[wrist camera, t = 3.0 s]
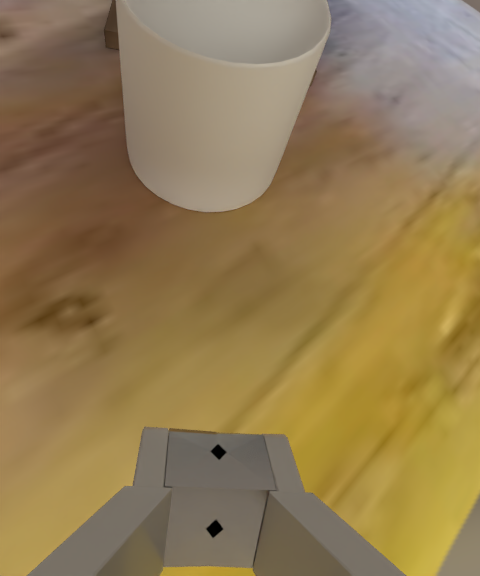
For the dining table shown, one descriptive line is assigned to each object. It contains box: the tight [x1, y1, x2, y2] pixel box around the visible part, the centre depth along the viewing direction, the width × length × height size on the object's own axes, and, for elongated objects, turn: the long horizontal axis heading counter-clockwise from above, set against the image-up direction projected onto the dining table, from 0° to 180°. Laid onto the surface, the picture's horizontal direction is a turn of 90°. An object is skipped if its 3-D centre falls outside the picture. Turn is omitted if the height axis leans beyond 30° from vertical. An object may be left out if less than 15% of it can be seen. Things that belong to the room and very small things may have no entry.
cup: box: [116, 0, 331, 212], centre depth 28 cm, size 12×12×12 cm
